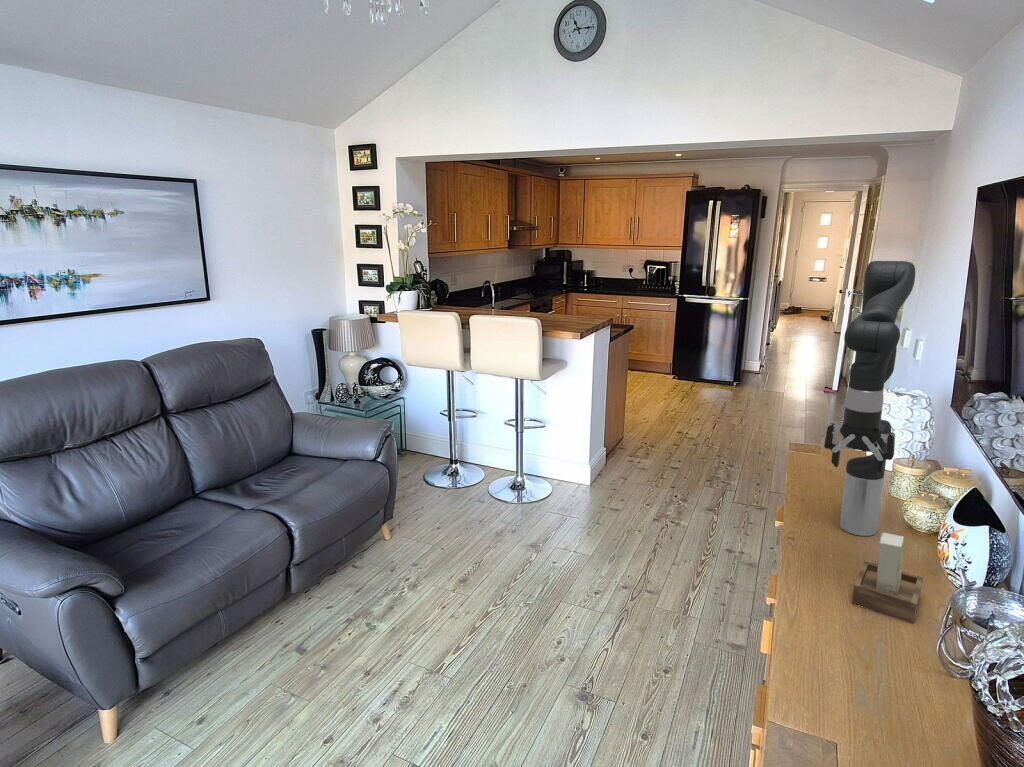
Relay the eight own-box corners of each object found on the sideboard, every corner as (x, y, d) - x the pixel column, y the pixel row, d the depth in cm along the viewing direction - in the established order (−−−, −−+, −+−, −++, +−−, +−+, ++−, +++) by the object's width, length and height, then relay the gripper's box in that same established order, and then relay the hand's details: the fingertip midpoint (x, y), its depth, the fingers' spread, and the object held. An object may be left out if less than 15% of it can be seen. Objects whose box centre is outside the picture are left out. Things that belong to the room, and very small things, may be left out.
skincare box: (897, 596, 133) (902, 547, 130) (874, 590, 135) (878, 542, 133) (900, 583, 137) (905, 536, 135) (878, 578, 140) (882, 531, 138)
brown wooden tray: (861, 580, 146) (864, 561, 145) (919, 597, 139) (923, 577, 137) (851, 605, 137) (854, 585, 136) (913, 625, 130) (916, 604, 128)
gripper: (901, 406, 136) (892, 470, 140) (833, 397, 144) (826, 458, 149) (897, 415, 130) (888, 482, 134) (826, 405, 139) (819, 468, 143)
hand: (855, 469), depth 142 cm, fingers open, 8 cm apart
